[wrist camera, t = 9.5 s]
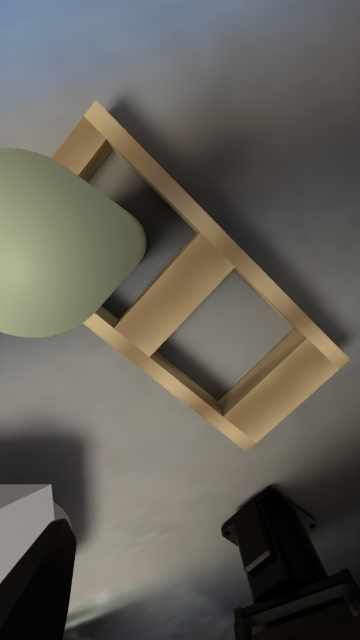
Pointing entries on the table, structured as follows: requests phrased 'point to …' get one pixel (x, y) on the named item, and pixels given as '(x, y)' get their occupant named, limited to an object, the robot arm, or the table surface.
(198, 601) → the table surface
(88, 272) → the green tapered capsule
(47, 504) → the wedge on round base
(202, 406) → the wooden ladder frame
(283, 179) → the table surface
